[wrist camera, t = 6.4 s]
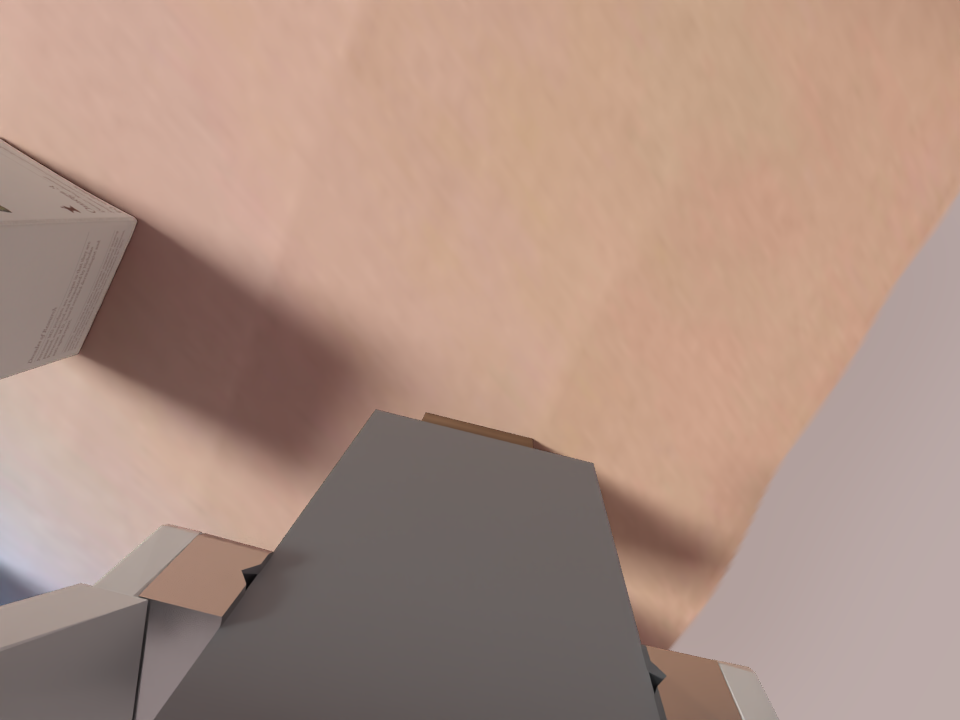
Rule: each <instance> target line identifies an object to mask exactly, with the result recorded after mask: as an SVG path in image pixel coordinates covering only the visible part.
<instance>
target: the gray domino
mask: <svg viewBox="0 0 960 720" xmlns="http://www.w3.org/2000/svg"><path fill="white" fill-rule="evenodd" d="M640 644H641V641H640V637H639V634H638V630H637V626H636V622H635V619H634V615H633V611H632V607H631V604H630V600H629V596H628V592H627V588H626V585H625V581H624V577H623V573H622V570H621V566H620V562H619V558H618V554H617V551H616V547H615V543H614V539H613V536H612V532H611V528H610V524H609V521H608V517H607V513H606V509H605V505H604V502H603V498H602V494H601V490H600V487H599V483H598V479H597V475H596V471H595V468H594V464H593V463H590V462H586V461H582V460H578V459H574V458H570V457H566V456H562V455H558V454H554V453H550V452H546V451H542V450H538V449H534V448H530V447H526V446H521V445H517V444H513V443H509V442H505V441H501V440H497V439H493V438H489V437H485V436H481V435H477V434H473V433H469V432H465V431H461V430H457V429H453V428H449V427H445V426H441V425H437V424H432V423H428V422H424V421H420V420H416V419H412V418H408V417H404V416H400V415H396V414H392V413H388V412H384V411H380V410H375V411H374V413H373V414H372V415H371V417H370V418H369V420H368V421H367V422H366V424H365V425H364V426H363V428H362V429H361V431H360V432H359V433H358V435H357V436H356V438H355V439H354V440H353V442H352V443H351V445H350V446H349V447H348V449H347V450H346V452H345V453H344V454H343V456H342V457H341V459H340V460H339V461H338V463H337V464H336V466H335V467H334V468H333V470H332V471H331V473H330V474H329V475H328V477H327V478H326V480H325V481H324V482H323V484H322V485H321V487H320V488H319V489H318V491H317V492H316V493H315V495H314V496H313V498H312V499H311V500H310V502H309V503H308V505H307V506H306V507H305V509H304V510H303V512H302V513H301V514H300V516H299V517H298V519H297V520H296V521H295V523H294V524H293V526H292V527H291V528H290V530H289V531H288V533H287V534H286V535H285V537H284V538H283V540H282V541H281V542H280V544H279V545H278V547H277V548H276V549H275V551H274V554H273V555H272V557H271V558H270V560H269V561H268V562H267V564H266V565H265V566H264V568H263V569H262V571H261V572H260V574H257V576H256V577H255V579H254V580H253V581H252V583H251V584H250V586H249V587H248V588H247V590H246V591H245V595H244V596H243V597H242V599H241V600H240V602H239V603H238V604H237V606H236V607H235V608H234V610H233V611H232V612H231V614H230V615H229V617H228V618H227V619H226V621H225V622H224V623H223V625H222V626H221V628H219V629H218V630H217V632H216V633H215V634H214V636H213V637H212V639H211V640H210V641H209V643H208V644H207V646H206V647H205V648H204V650H203V651H202V653H201V654H200V655H199V657H198V658H197V660H196V661H195V662H194V664H193V665H192V667H191V668H190V669H189V671H188V672H187V674H186V675H185V676H184V678H183V679H182V680H181V682H180V683H179V685H178V686H177V687H176V689H175V690H174V692H173V693H172V694H171V696H170V697H169V699H168V700H167V701H166V703H165V704H164V706H163V707H162V708H161V710H160V711H159V713H158V714H157V715H156V717H155V718H154V720H660V717H659V714H658V710H657V706H656V702H655V699H654V690H653V687H652V683H651V679H650V675H649V672H648V671H647V668H646V664H645V660H644V657H643V653H642V649H641V645H640Z"/></svg>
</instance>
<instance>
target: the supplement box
mask: <svg viewBox="0 0 960 720" xmlns="http://www.w3.org/2000/svg"><path fill="white" fill-rule="evenodd" d="M136 223H137V220H136V218H135V217H133V216H131V215H129V214H127V213H125V212H123V211H121V210H120V209H118V208H116V207H114V206H112V205H110V204H108V203H107V202H105V201H103V200H101V199H99V198H97V197H96V196H94V195H92V194H90V193H89V192H87V191H85V190H83V189H81V188H80V187H78V186H76V185H75V184H73V183H71V182H70V181H68V180H66V179H65V178H63V177H61V176H59V175H58V174H56V173H54V172H53V171H51V170H50V169H48V168H46V167H45V166H43V165H41V164H40V163H38V162H36V161H35V160H33V159H31V158H30V157H28V156H27V155H25V154H23V153H22V152H20V151H19V150H17V149H15V148H14V147H12V146H11V145H9V144H8V143H6V142H4V141H3V140H1V139H0V379H3V378H6V377H9V376H12V375H15V374H18V373H21V372H24V371H27V370H30V369H34V368H37V367H40V366H43V365H46V364H49V363H52V362H55V361H58V360H61V359H64V358H67V357H70V356H73V355H76V354H78V353H79V351H80V349H81V347H82V345H83V343H84V340H85V338H86V336H87V334H88V332H89V330H90V327H91V325H92V323H93V321H94V318H95V316H96V314H97V312H98V310H99V308H100V306H101V303H102V301H103V299H104V296H105V294H106V292H107V290H108V288H109V286H110V284H111V281H112V279H113V277H114V275H115V272H116V270H117V268H118V266H119V263H120V261H121V259H122V257H123V254H124V252H125V250H126V247H127V245H128V243H129V241H130V239H131V237H132V234H133V232H134V229H135V226H136Z"/></svg>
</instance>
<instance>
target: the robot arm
mask: <svg viewBox="0 0 960 720" xmlns="http://www.w3.org/2000/svg"><path fill="white" fill-rule="evenodd" d="M273 554H274V552H273V551H269V550H265V549H262V548H258V547H254V546H251V545H247V544H243V543H240V542H236V541H232V540H228V539H225V538H221V537H217V536H214V535H210V534H206V533H204V534H203V533H202V532H200V531H196V530H192V529H187V528H183V527H179V526H175V525H170V524H169V525H162V526H160V527H159V528H158V529H157V530H156V531H154V532H153V533H152V534H151V535H150V536H149V537H148V538H147V539H145V540H144V541H143V542H142V543H141V544H140V545H139V546H137V547H136V548H135V549H134V550H133V551H132V552H131V553H130V554H128V555H127V556H126V557H125V558H124V559H123V560H122V561H120V562H119V563H118V564H117V565H116V566H115V567H114V568H113V569H111V570H110V571H109V572H108V573H107V574H106V575H105V576H103V577H102V578H101V579H100V580H99V581H98V582H97V583H95V584H94V585H93V586H91V585H87V584H83V583H80V584H76V585H73V586H69V587H66V588H62V589H59V590H55V591H52V592H48V593H44V594H41V595H37V596H34V597H30V598H27V599H23V600H20V601H16V602H12V603H9V604H5V605H2V606H0V720H154V718H155V717H156V715H157V714H158V713H159V711H160V710H161V708H162V707H163V706H164V704H165V703H166V701H167V700H168V699H169V697H170V696H171V694H172V693H173V692H174V690H175V689H176V687H177V686H178V685H179V683H180V682H181V680H182V679H183V678H184V676H185V675H186V674H187V672H188V671H189V669H190V668H191V667H192V665H193V664H194V662H195V661H196V660H197V658H198V657H199V655H200V654H201V653H202V651H203V650H204V648H205V647H206V646H207V644H208V643H209V641H210V640H211V639H212V637H213V636H214V634H215V633H216V632H217V630H218V629H219V628H221V626H222V625H223V623H224V622H225V621H226V619H227V618H228V617H229V615H230V614H231V612H232V611H233V610H234V608H235V607H236V606H237V604H238V603H239V602H240V600H241V599H242V597H243V596H244V595H245V591H246V590H247V588H248V587H249V586H250V584H251V583H252V581H253V580H254V579H255V577H256V576H257V574H260V572H261V571H262V569H263V568H264V566H265V565H266V564H267V562H268V561H269V560H270V558H271V557H272V555H273ZM640 645H641V649H642V653H643V657H644V660H645V664H646V668H647V671H648V672H649V675H650V679H651V683H652V687H653V690H654V699H655V702H656V706H657V710H658V714H659V717H660V720H779V719H778V717H777V715H776V713H775V711H774V709H773V707H772V705H771V703H770V701H769V699H768V697H767V695H766V693H765V691H764V689H763V687H762V685H761V683H760V681H759V679H758V677H757V675H756V673H755V672H754V671H753V670H751V669H750V668H749V667H745V666H741V665H736V664H731V663H726V662H721V661H717V660H710V659H706V658H701V657H697V656H692V655H688V654H683V653H679V652H674V651H670V650H665V649H661V648H656V647H652V646H647V645H643V644H640Z"/></svg>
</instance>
